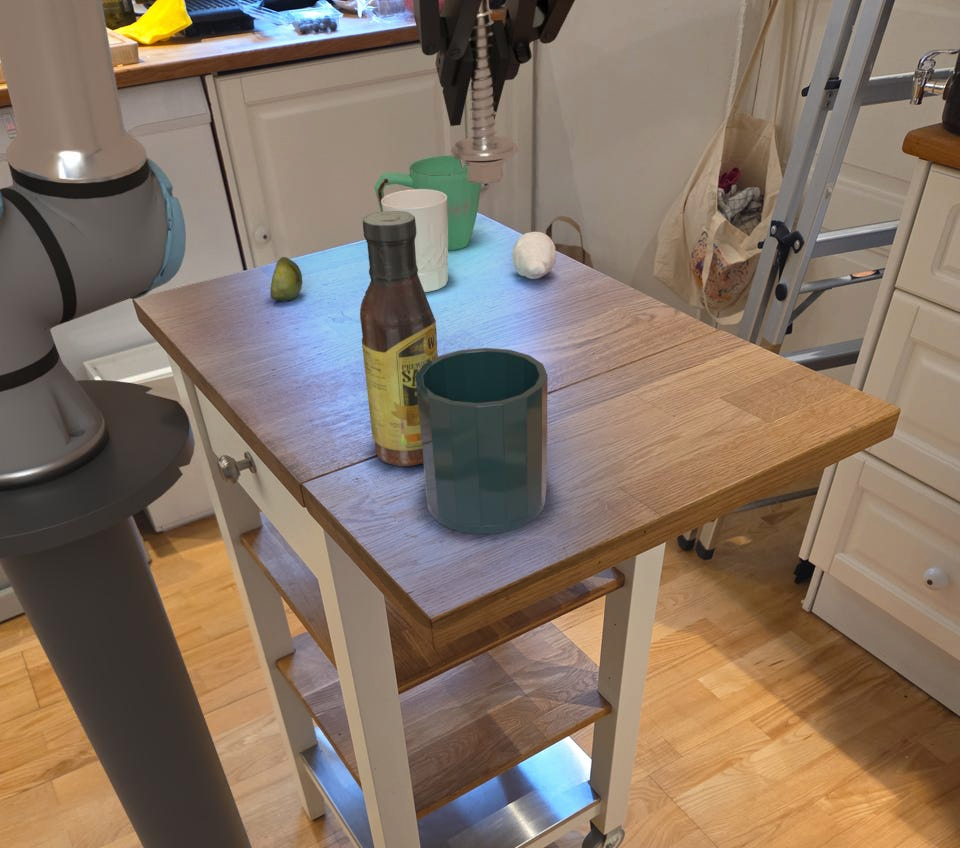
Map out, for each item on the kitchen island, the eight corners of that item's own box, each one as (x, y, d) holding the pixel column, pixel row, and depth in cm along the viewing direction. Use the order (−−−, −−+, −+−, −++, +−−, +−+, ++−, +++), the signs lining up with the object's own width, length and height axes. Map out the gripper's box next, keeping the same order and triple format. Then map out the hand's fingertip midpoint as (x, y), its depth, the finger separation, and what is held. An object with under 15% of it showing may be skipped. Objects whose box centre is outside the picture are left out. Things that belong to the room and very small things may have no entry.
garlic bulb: (516, 292, 107) (515, 245, 104) (511, 274, 112) (510, 229, 108) (560, 289, 108) (561, 242, 104) (553, 272, 112) (554, 227, 108)
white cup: (451, 270, 114) (446, 187, 107) (453, 293, 108) (448, 205, 101) (390, 274, 114) (381, 191, 107) (389, 297, 108) (380, 210, 101)
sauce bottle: (420, 476, 76) (396, 236, 63) (361, 461, 79) (326, 226, 65) (458, 442, 80) (443, 210, 67) (401, 428, 83) (375, 202, 70)
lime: (275, 309, 106) (266, 267, 103) (265, 296, 110) (257, 255, 107) (310, 302, 108) (303, 260, 104) (300, 290, 111) (293, 248, 108)
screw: (478, 167, 68) (530, 175, 65) (439, 183, 65) (492, 191, 63) (469, -46, 59) (529, -46, 57) (424, -38, 56) (485, -38, 54)
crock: (407, 491, 75) (393, 368, 67) (506, 458, 78) (503, 338, 71) (462, 548, 68) (454, 418, 61) (568, 510, 71) (572, 383, 64)
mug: (481, 230, 126) (478, 152, 119) (491, 252, 119) (488, 171, 112) (379, 239, 125) (370, 161, 118) (383, 262, 117) (374, 180, 111)
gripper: (408, -146, 41) (380, 166, 64) (703, -162, 43) (574, 143, 67) (372, -295, 41) (358, 68, 64) (667, -302, 44) (551, 49, 67)
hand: (468, 106), depth 65 cm, fingers closed on screw, 2 cm apart
